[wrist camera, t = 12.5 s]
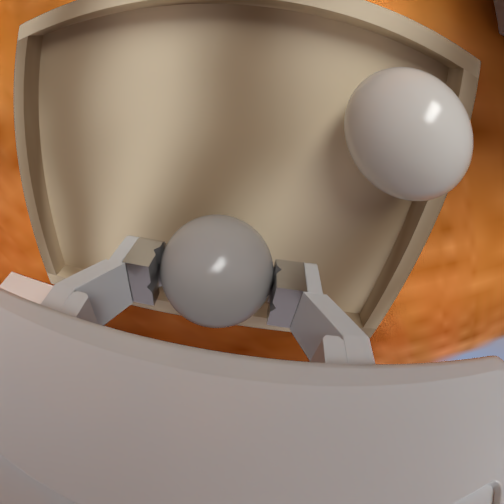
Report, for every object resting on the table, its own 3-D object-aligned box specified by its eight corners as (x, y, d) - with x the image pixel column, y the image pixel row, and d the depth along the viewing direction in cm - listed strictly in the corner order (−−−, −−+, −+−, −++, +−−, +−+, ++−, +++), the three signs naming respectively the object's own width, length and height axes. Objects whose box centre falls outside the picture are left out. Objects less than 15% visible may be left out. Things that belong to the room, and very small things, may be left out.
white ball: (320, 159, 9) (348, 209, 6) (342, 53, 7) (389, 37, 4) (414, 184, 9) (467, 239, 6) (440, 92, 7) (512, 112, 4)
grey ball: (179, 270, 12) (151, 338, 9) (178, 189, 10) (135, 249, 7) (265, 283, 13) (261, 357, 9) (282, 204, 10) (286, 272, 7)
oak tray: (63, 267, 14) (51, 283, 13) (41, 25, 6) (19, 25, 5) (364, 317, 14) (369, 338, 13) (459, 59, 6) (481, 61, 5)
